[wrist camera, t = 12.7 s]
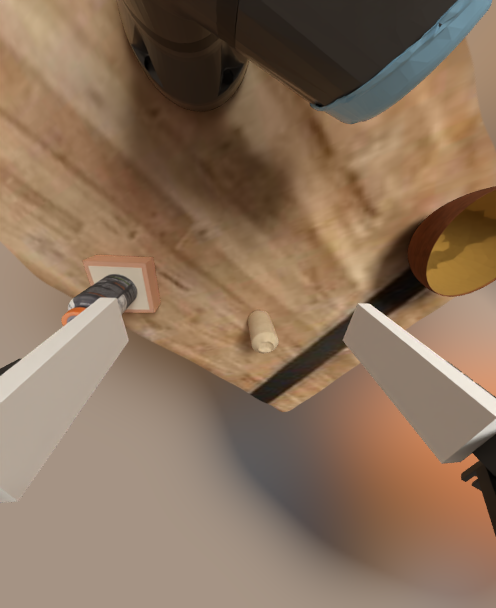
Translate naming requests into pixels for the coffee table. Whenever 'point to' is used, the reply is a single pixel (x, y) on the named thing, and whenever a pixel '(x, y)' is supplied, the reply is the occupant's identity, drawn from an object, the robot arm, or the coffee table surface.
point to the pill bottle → (103, 295)
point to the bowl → (457, 245)
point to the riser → (132, 268)
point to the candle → (262, 332)
